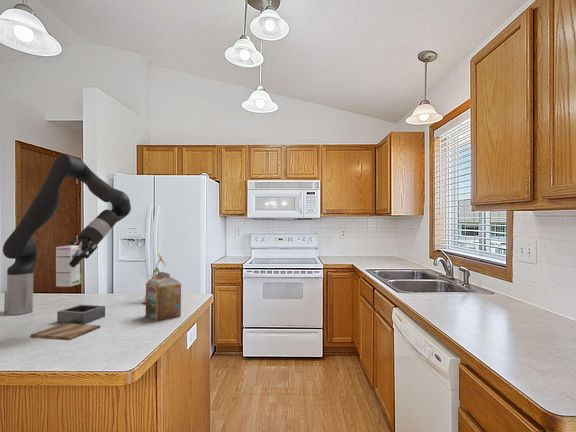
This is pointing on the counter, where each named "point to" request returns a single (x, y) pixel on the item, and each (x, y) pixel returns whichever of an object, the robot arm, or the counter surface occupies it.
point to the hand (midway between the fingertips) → (64, 265)
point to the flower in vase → (156, 270)
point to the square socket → (81, 314)
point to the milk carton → (163, 297)
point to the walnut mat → (65, 331)
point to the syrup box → (67, 266)
